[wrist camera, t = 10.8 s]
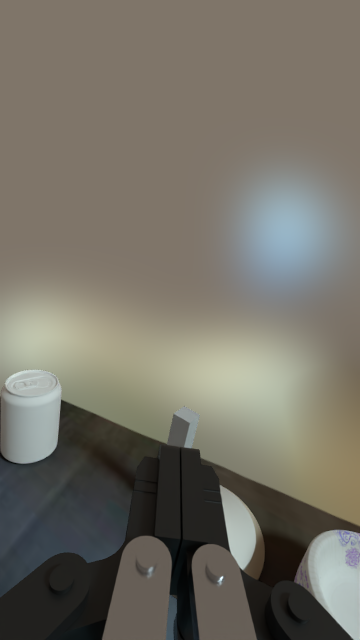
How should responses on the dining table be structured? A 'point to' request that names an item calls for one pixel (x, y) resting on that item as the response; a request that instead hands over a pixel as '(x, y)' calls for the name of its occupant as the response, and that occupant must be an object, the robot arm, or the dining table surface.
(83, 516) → the dining table surface
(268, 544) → the dining table surface
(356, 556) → the paper bowls
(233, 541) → the dial
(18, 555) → the dining table surface
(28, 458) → the beverage can
